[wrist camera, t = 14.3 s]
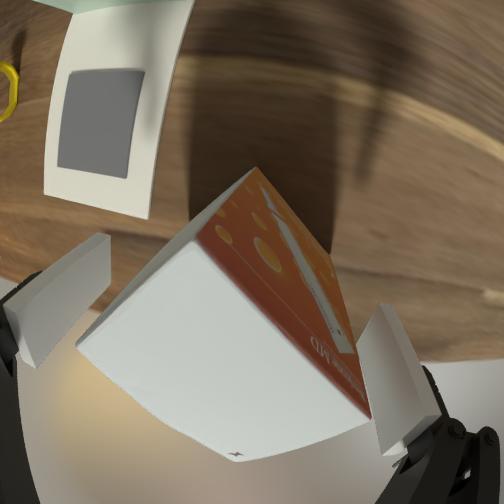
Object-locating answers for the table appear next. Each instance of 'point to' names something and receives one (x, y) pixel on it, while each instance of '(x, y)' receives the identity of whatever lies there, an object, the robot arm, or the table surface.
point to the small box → (237, 331)
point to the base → (112, 104)
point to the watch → (13, 93)
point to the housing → (93, 4)
